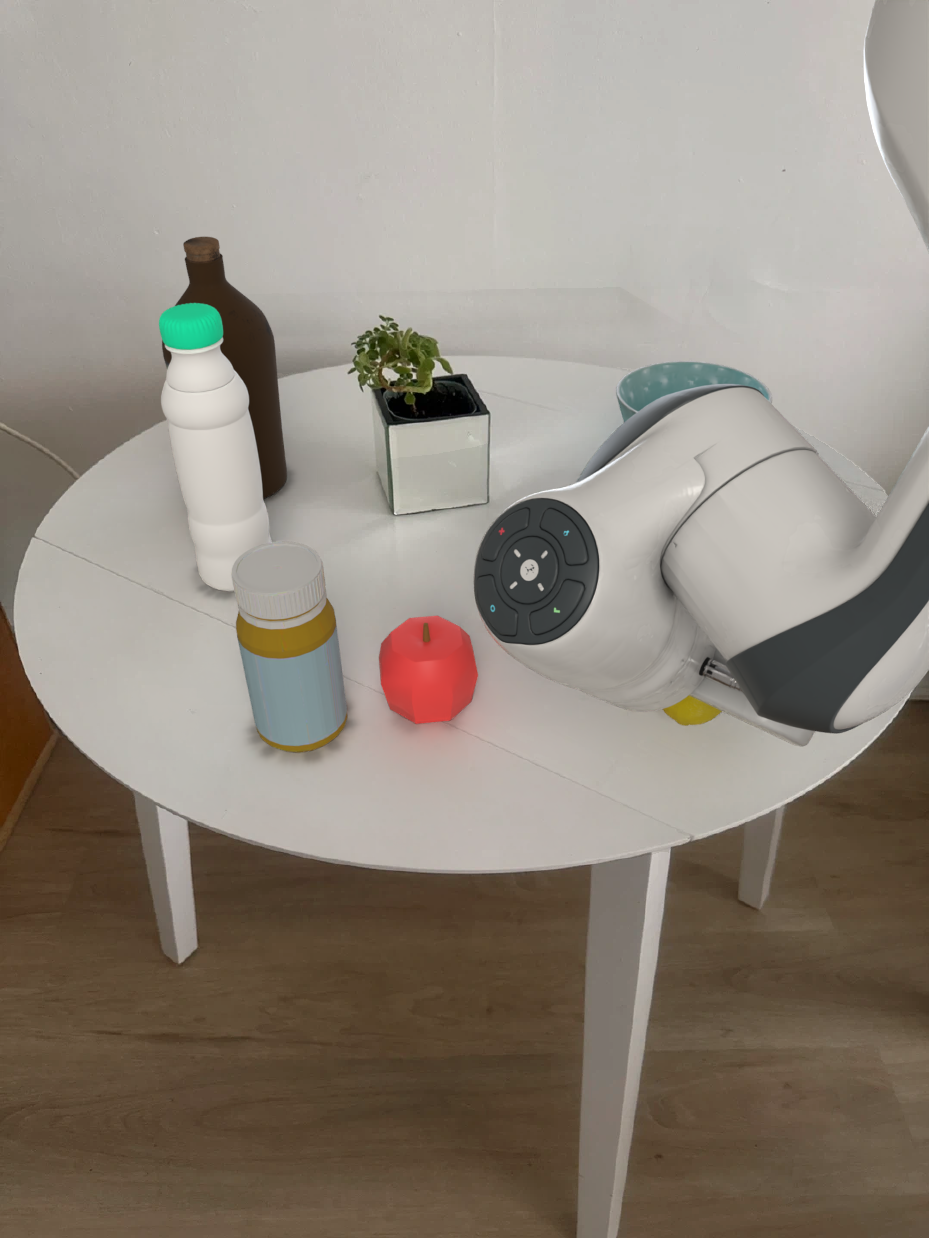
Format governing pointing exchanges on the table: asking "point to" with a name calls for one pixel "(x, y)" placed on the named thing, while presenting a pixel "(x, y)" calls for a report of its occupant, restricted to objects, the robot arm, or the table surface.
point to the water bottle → (212, 443)
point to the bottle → (289, 646)
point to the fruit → (691, 712)
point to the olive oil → (241, 352)
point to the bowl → (676, 382)
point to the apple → (428, 669)
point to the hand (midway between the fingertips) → (697, 672)
